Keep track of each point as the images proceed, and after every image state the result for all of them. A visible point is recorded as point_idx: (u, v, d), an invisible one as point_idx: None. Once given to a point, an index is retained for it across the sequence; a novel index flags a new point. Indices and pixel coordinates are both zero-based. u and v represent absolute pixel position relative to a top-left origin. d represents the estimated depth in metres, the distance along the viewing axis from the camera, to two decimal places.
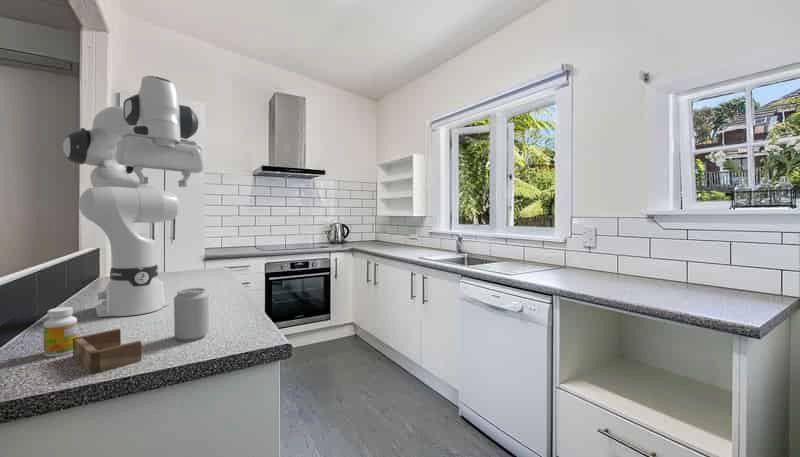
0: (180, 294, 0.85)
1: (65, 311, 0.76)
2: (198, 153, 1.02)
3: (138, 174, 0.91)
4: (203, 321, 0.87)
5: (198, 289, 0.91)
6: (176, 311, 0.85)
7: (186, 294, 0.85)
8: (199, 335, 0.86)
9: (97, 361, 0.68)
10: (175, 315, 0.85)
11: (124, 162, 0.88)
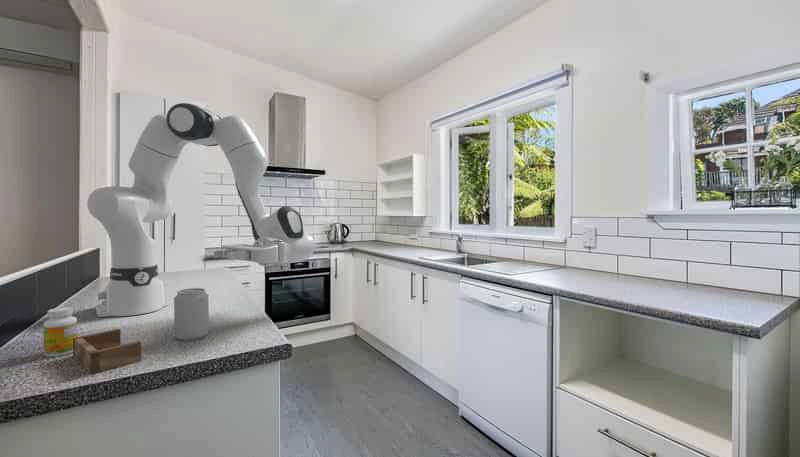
0: (180, 294, 0.85)
1: (65, 311, 0.76)
2: None
3: (239, 256, 0.93)
4: (203, 321, 0.87)
5: (198, 289, 0.91)
6: (176, 311, 0.85)
7: (186, 294, 0.85)
8: (199, 335, 0.86)
9: (97, 361, 0.68)
10: (175, 315, 0.85)
11: (257, 261, 0.92)
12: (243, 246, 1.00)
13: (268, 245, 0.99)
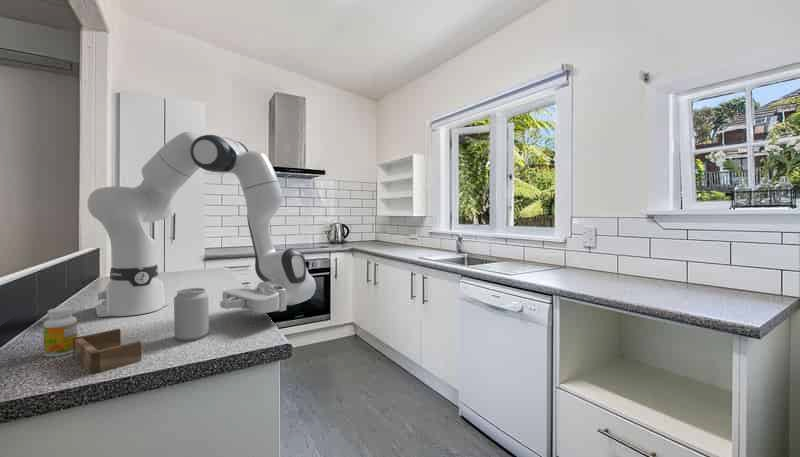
0: (180, 294, 0.85)
1: (65, 311, 0.76)
2: None
3: (235, 305, 0.95)
4: (203, 321, 0.87)
5: (198, 289, 0.91)
6: (176, 311, 0.85)
7: (186, 294, 0.85)
8: (199, 335, 0.86)
9: (97, 361, 0.68)
10: (175, 315, 0.85)
11: (258, 312, 0.93)
12: (244, 293, 1.01)
13: (269, 292, 1.00)
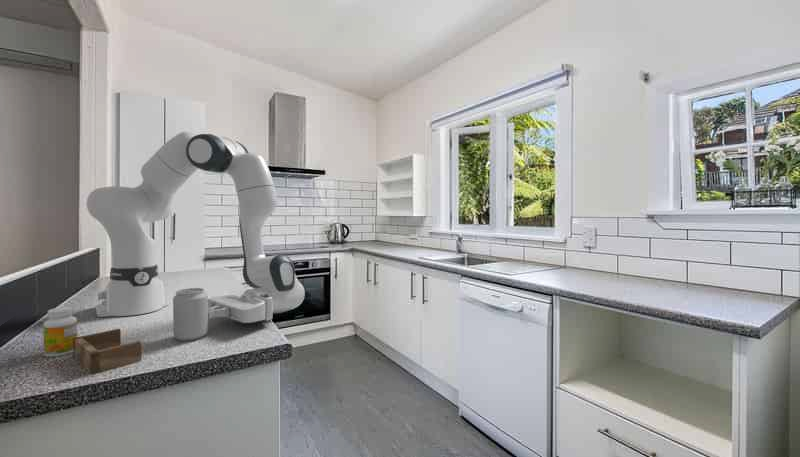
0: (179, 294, 0.85)
1: (65, 311, 0.76)
2: None
3: (218, 314, 0.92)
4: (202, 321, 0.87)
5: (197, 289, 0.90)
6: (175, 311, 0.85)
7: (185, 294, 0.85)
8: (198, 335, 0.86)
9: (97, 361, 0.68)
10: (174, 315, 0.85)
11: (243, 322, 0.90)
12: (229, 301, 0.98)
13: (255, 301, 0.97)
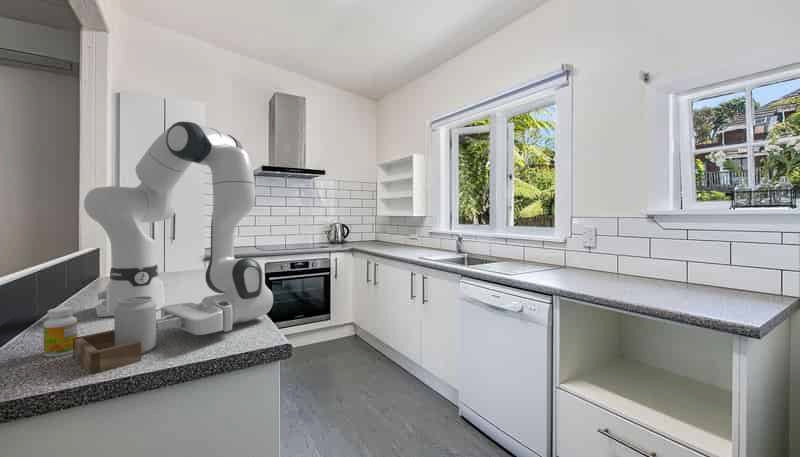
0: (121, 304, 0.75)
1: (65, 311, 0.76)
2: None
3: (169, 325, 0.82)
4: (148, 333, 0.77)
5: (144, 297, 0.81)
6: (117, 323, 0.75)
7: (128, 304, 0.75)
8: (144, 349, 0.77)
9: (97, 361, 0.68)
10: (115, 328, 0.75)
11: (195, 334, 0.80)
12: (184, 310, 0.88)
13: (212, 309, 0.87)
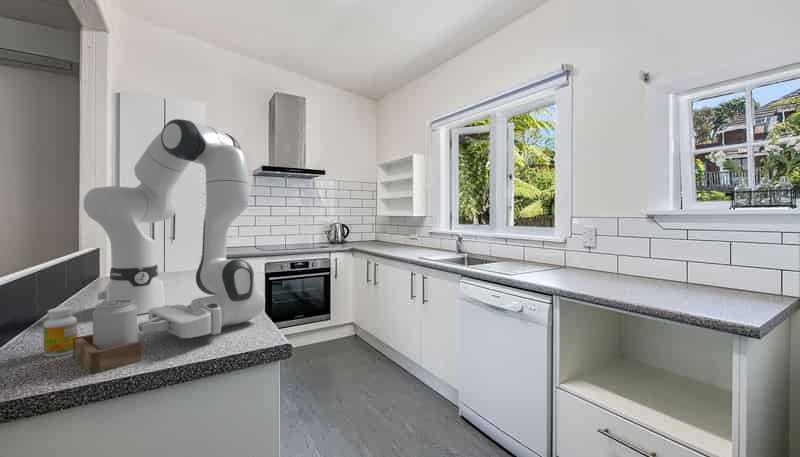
0: (100, 307, 0.72)
1: (65, 311, 0.76)
2: None
3: (155, 327, 0.80)
4: (128, 338, 0.74)
5: (125, 301, 0.78)
6: (95, 328, 0.72)
7: (107, 307, 0.72)
8: None
9: (97, 361, 0.68)
10: (94, 333, 0.72)
11: (181, 337, 0.78)
12: (172, 312, 0.86)
13: (200, 312, 0.85)
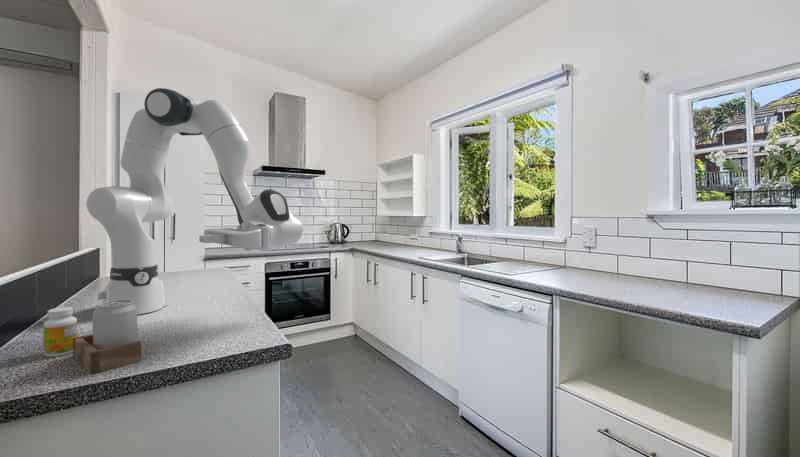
0: (100, 307, 0.72)
1: (65, 311, 0.76)
2: None
3: (214, 240, 0.91)
4: (128, 338, 0.74)
5: (125, 301, 0.78)
6: (95, 328, 0.72)
7: (107, 307, 0.72)
8: None
9: (97, 361, 0.68)
10: (94, 333, 0.72)
11: (238, 246, 0.89)
12: (226, 230, 0.96)
13: (251, 229, 0.95)
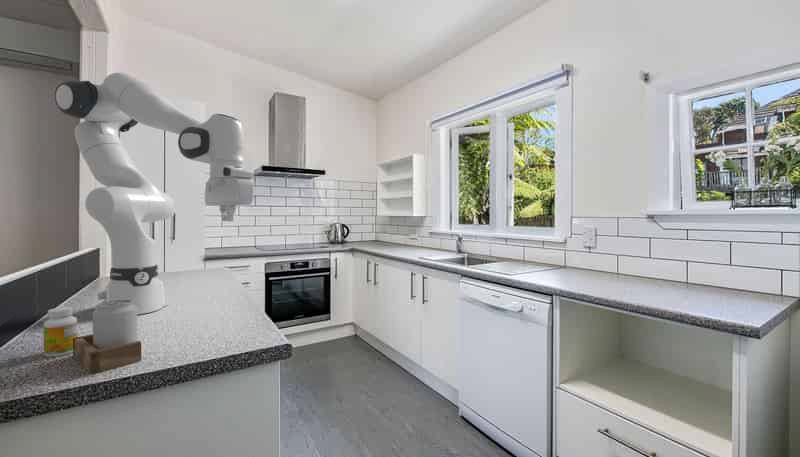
0: (100, 307, 0.72)
1: (65, 311, 0.76)
2: None
3: (231, 213, 0.99)
4: (128, 338, 0.74)
5: (125, 301, 0.78)
6: (95, 328, 0.72)
7: (107, 307, 0.72)
8: None
9: (97, 361, 0.68)
10: (94, 333, 0.72)
11: (250, 204, 0.96)
12: (218, 196, 0.99)
13: (229, 182, 0.95)
